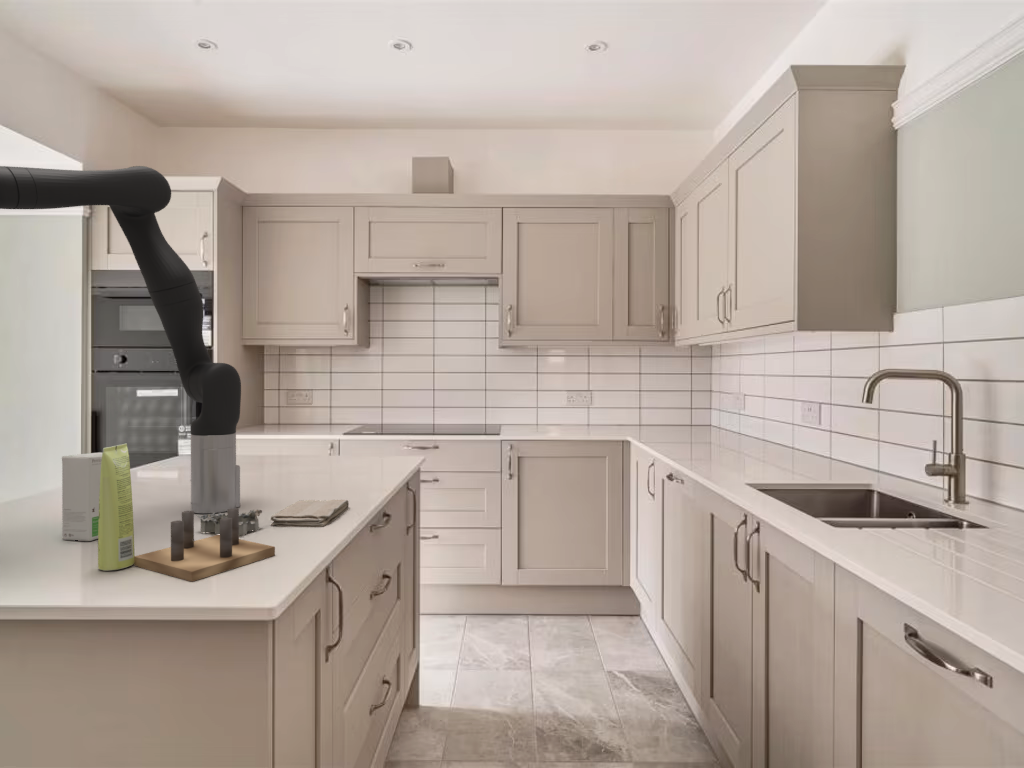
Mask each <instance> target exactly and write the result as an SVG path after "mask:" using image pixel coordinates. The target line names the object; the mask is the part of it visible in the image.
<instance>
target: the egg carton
mask: <svg viewBox="0 0 1024 768" xmlns="http://www.w3.org/2000/svg"><path fill="white" fill-rule="evenodd" d="M262 513H263V510H261V509H256V510H255V509H252V510H249V512H242V513H239V536H245V535H244V534H246V535H248V532H247V531H249V532H256V531H255V530H257V531H259V530H260V529H259V528H260V527H259V524H260V523H259V518H258V517H260V515H262ZM196 517H197V518H198V519H199V520H200V533H201V532H215V533H214V535H215V534H220V519H222V518H227V514H225V512H218V513H217V514H216V513H215V512H214V513H207V514H206V513H203V515H200V516H199V515H196ZM252 530H254V531H252Z"/></svg>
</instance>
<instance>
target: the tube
mask: <svg viewBox="0 0 1024 768" xmlns="http://www.w3.org/2000/svg"><path fill="white" fill-rule="evenodd" d="M101 453H102V461H101V475H100V492H99V524H98V540H97V544H98V545H97V566H98V567H97V568H98V569H99V570H100V571H104V572H109V571H117V570H123V569H125V568H126V569H127V568H128V567H131V566H134V556H136V555H135V531H134V529H135V528H134V527H135V526H134V509H133V507H134V506H133V490H132V479H131V478H132V477H131V465H130V464H131V463H130V454H129V448H128V443H123V444H117V445H113V446H107V447H103V449H102V452H101Z"/></svg>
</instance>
